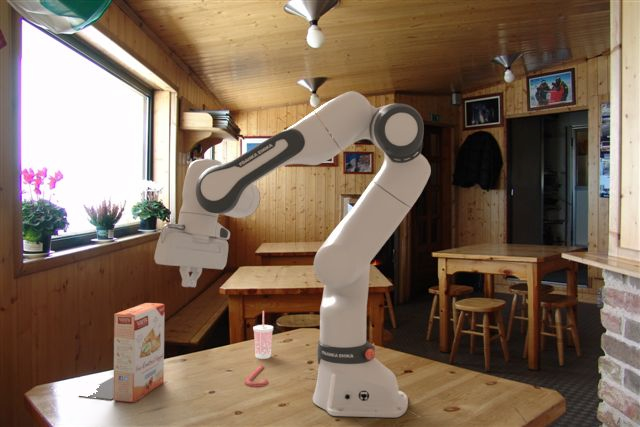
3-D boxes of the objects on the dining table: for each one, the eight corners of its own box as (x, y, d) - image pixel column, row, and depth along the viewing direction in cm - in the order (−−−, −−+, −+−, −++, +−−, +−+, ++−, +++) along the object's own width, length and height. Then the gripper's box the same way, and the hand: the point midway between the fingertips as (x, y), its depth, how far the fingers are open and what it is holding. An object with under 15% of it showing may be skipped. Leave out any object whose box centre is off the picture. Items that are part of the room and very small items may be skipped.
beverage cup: (275, 354, 155) (276, 309, 155) (269, 360, 149) (269, 313, 149) (257, 352, 157) (257, 308, 156) (250, 358, 151) (250, 312, 150)
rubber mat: (143, 381, 131) (143, 380, 131) (111, 400, 119) (111, 399, 119) (113, 378, 133) (113, 377, 133) (78, 396, 121) (78, 395, 121)
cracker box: (135, 404, 117) (135, 314, 116) (112, 401, 118) (112, 313, 117) (165, 382, 130) (165, 302, 130) (144, 381, 132) (144, 301, 131)
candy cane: (279, 371, 142) (280, 365, 142) (263, 389, 127) (264, 384, 127) (259, 369, 143) (259, 364, 143) (241, 387, 128) (241, 382, 128)
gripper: (173, 222, 107) (163, 287, 105) (235, 233, 124) (227, 289, 123) (153, 220, 110) (143, 283, 109) (215, 231, 128) (208, 286, 126)
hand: (188, 286), depth 116 cm, fingers closed
